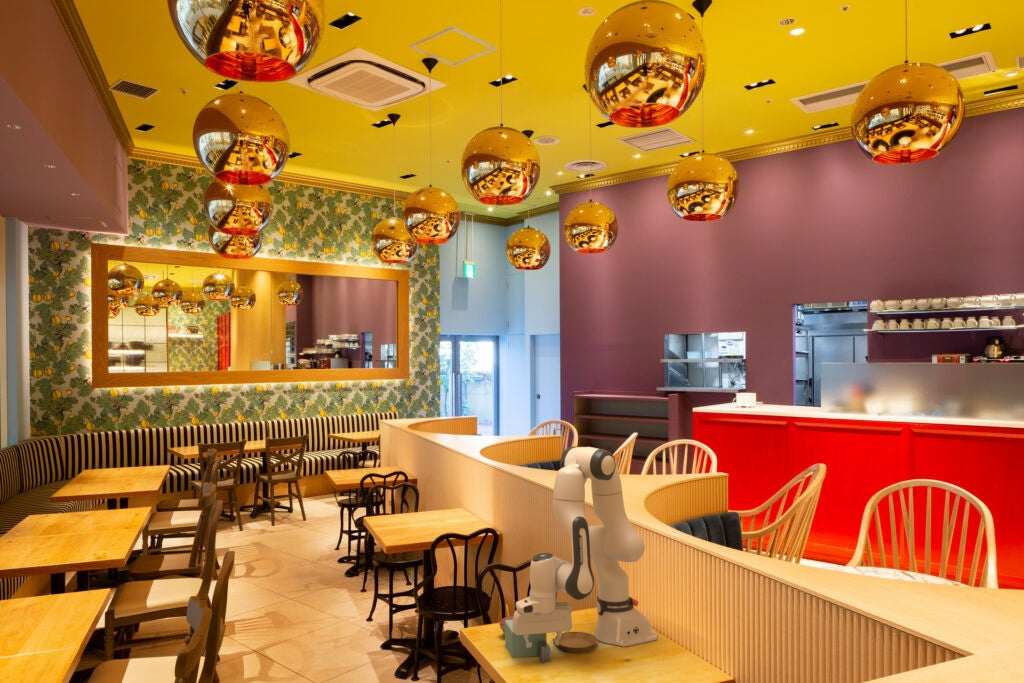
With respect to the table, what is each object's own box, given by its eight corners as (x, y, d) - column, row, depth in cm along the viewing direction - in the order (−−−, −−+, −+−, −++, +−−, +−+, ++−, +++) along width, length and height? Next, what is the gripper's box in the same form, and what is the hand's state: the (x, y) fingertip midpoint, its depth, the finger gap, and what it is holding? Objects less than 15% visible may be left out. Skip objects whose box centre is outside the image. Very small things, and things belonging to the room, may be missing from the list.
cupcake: (495, 639, 243) (495, 605, 244) (506, 631, 250) (506, 598, 251) (516, 643, 239) (516, 608, 240) (527, 635, 246) (526, 601, 247)
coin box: (538, 642, 239) (537, 617, 240) (546, 654, 229) (546, 628, 229) (505, 645, 237) (505, 620, 237) (512, 658, 226) (512, 631, 226)
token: (546, 656, 228) (545, 641, 228) (550, 662, 223) (550, 646, 223) (537, 657, 227) (537, 641, 227) (541, 663, 222) (541, 647, 222)
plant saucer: (592, 657, 226) (591, 649, 226) (549, 652, 231) (549, 644, 231) (600, 641, 240) (600, 633, 240) (561, 636, 245) (560, 629, 245)
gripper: (568, 598, 231) (568, 640, 230) (511, 602, 226) (510, 645, 225) (574, 604, 225) (574, 646, 224) (515, 608, 220) (515, 652, 219)
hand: (542, 646), depth 224 cm, fingers open, 8 cm apart
